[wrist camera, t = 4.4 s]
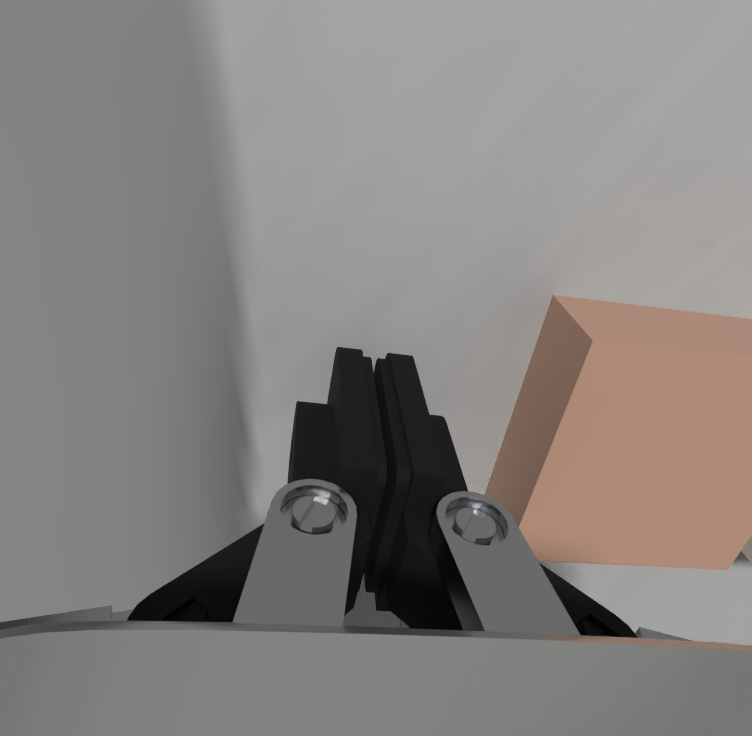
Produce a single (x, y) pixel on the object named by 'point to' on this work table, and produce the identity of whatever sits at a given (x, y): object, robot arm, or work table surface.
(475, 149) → the work table surface
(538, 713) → the robot arm
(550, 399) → the terracotta tile
